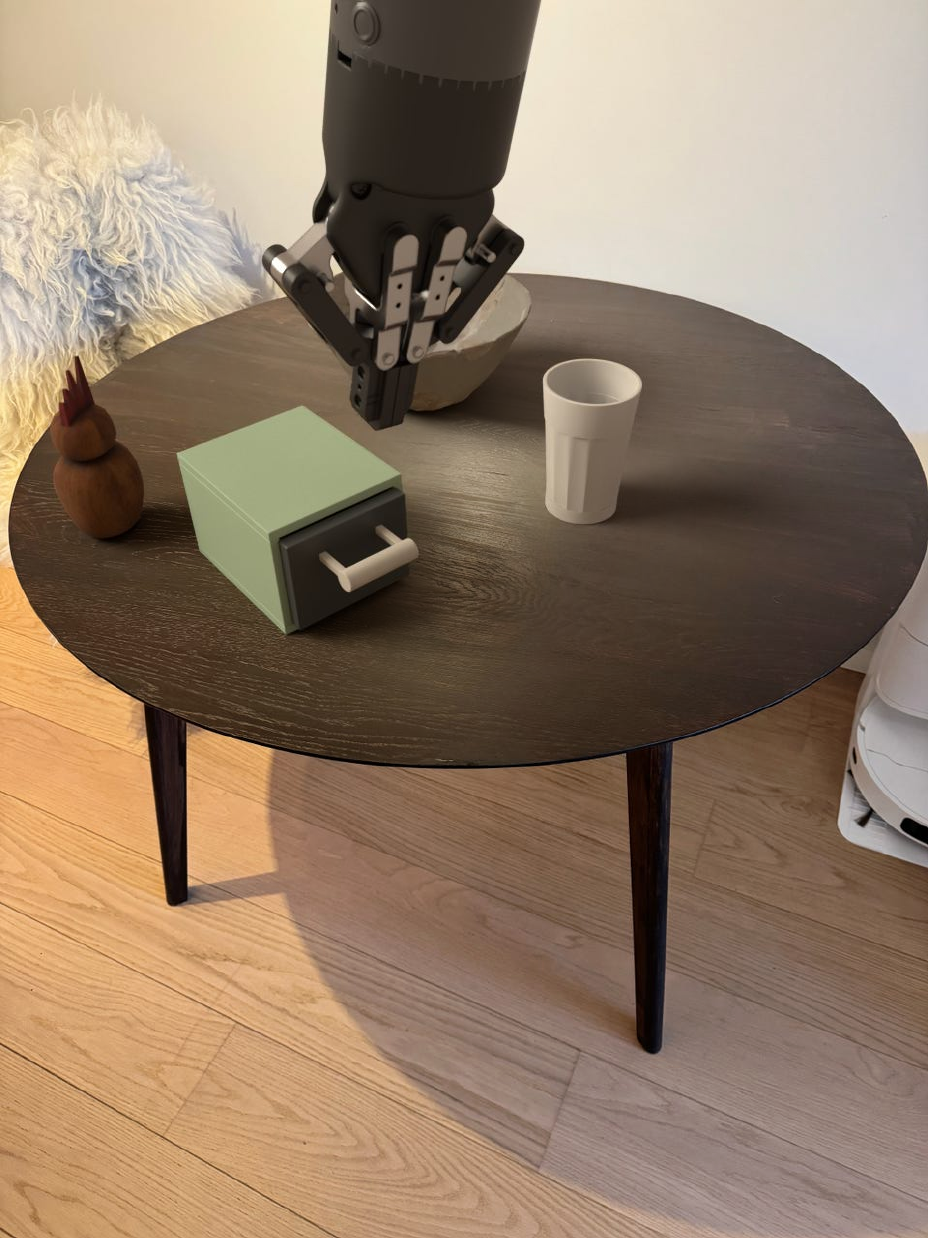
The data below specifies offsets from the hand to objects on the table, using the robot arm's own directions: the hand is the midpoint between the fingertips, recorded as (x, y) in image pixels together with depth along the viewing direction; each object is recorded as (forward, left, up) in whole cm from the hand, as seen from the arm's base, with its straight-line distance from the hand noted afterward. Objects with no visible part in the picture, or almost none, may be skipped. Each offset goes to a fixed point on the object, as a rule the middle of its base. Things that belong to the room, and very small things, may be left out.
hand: (378, 418), depth 47 cm
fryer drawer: (-4, +17, -23) cm, 29 cm away
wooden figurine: (-22, +28, -25) cm, 43 cm away
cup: (+19, +24, -25) cm, 40 cm away
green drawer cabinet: (-6, +20, -24) cm, 32 cm away
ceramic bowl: (+8, +47, -25) cm, 54 cm away
